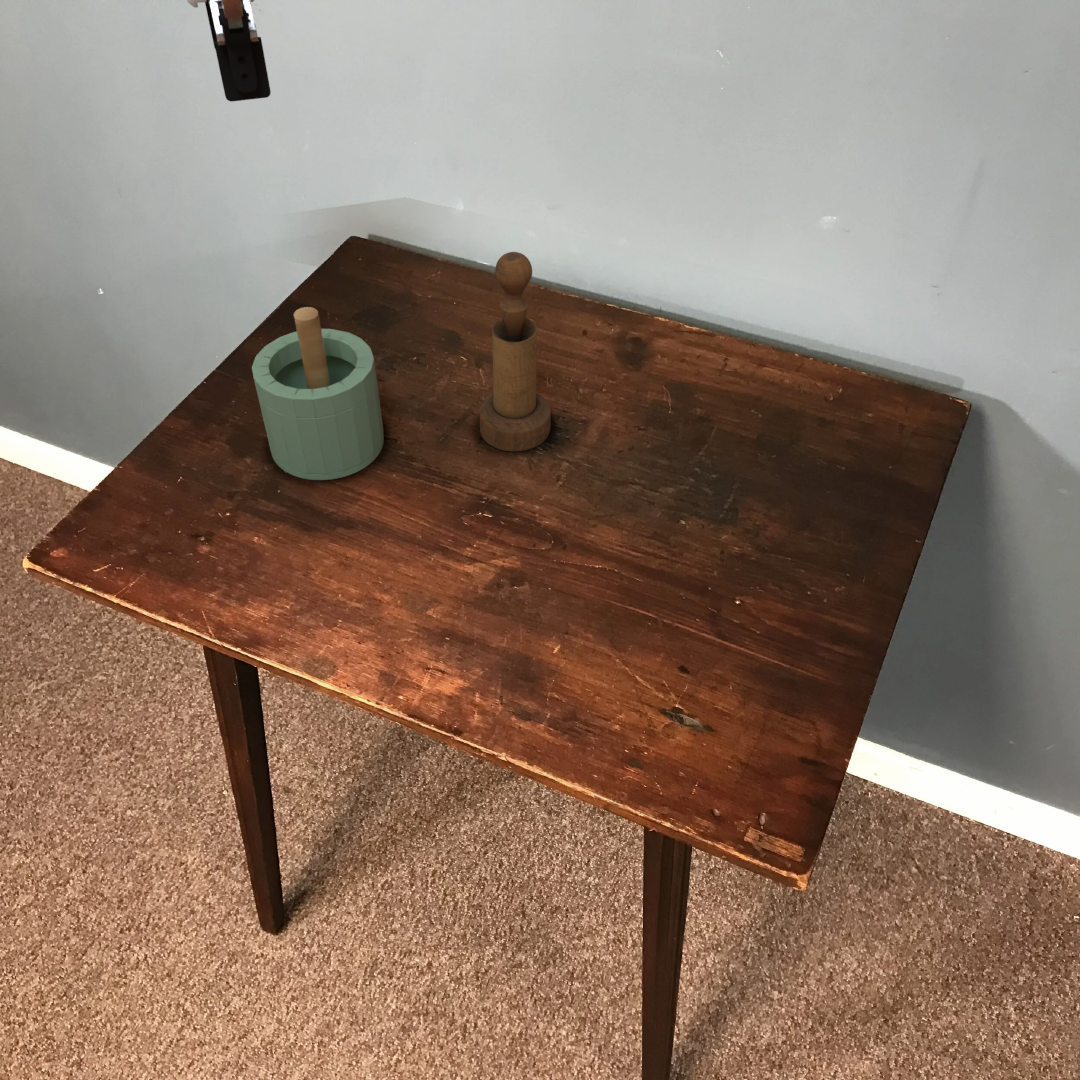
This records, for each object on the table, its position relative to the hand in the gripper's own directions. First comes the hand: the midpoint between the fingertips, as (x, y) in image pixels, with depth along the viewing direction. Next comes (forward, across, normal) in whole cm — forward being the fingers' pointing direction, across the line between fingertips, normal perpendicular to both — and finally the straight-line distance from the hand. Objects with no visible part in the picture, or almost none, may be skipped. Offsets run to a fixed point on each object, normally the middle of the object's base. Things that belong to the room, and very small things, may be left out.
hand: (242, 72), depth 78 cm
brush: (+30, +8, +1) cm, 31 cm away
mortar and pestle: (+31, +11, +18) cm, 37 cm away
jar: (+30, +8, +1) cm, 31 cm away
